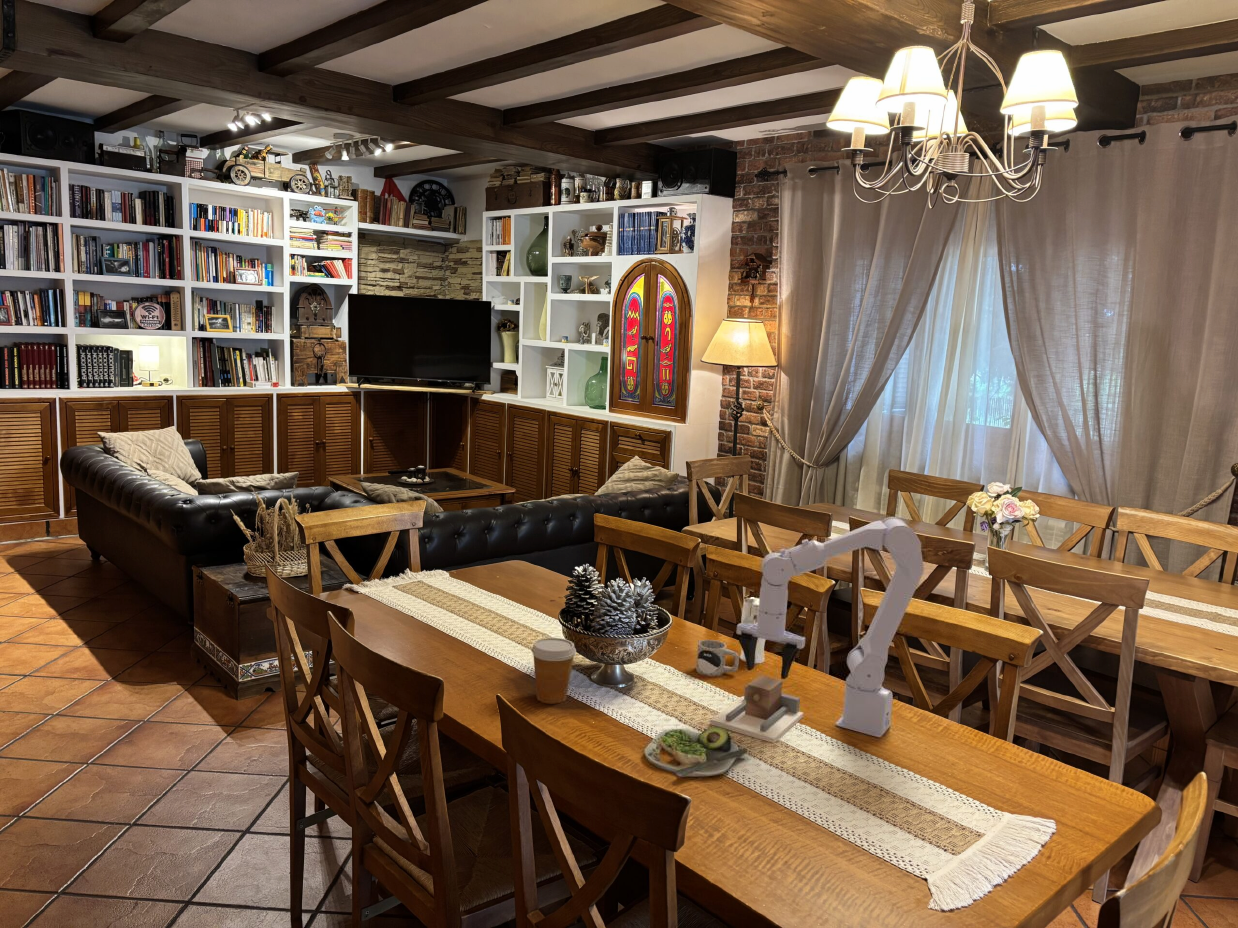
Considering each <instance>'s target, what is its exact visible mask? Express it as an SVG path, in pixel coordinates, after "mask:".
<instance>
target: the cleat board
mask: <svg viewBox="0 0 1238 928" xmlns="http://www.w3.org/2000/svg"><path fill="white" fill-rule="evenodd" d="M746 697H747V684H746V685H745V686H744V695H743V696H741V697H739V698H738V699H737V700H735V701H733V703H731V704H730V705H729V706H727V707H725V708H724V709H723V710H722V711H720V712H719V713H717V714H716V715H714V716H713V717H712V718H711V719H710V720H709V721H710V722H709V723H710V724H709V725H713V726H714V727H720V728H723V729H725V730H728V731H732V732H736V733H738V734H743V735H745V736H749V737H751V738H755V739H758V740H763V741H765V742H769V743H771V744H775V743H776V742H777V741H778V740H779V739H780V738H782V737H783V736H784V735H785V734H786V733H787V732H788V731H790V730H791V729H792V728H793V727H794V726H795V725H796V724H797V723H798V722H799V721H801V720H802V718H804V712H802V711H800V703H801V702H800V700H801V698H800V697H796V696H794V695H793V696H792V695H791V694H787V693H783V692H782V694H781V706H780V709H779V710H778V711H777V712H776V713H774V714H773V715H772V716H771V717H770V718H768V719H767V720H764V719H760V718H757V717H753V716H750V715H746V714H745V709H746Z"/></svg>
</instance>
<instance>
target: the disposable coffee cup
mask: <svg viewBox="0 0 1238 928" xmlns="http://www.w3.org/2000/svg"><path fill="white" fill-rule="evenodd" d="M531 653H532V656H533V667H534V680H535V690H536V691H535V692H536V699H537V701H539V702H542V703H544V704H550V705H551V704H560V703H563V702H564V701H566V699H567V694H568V688H569V683H570V679H571V673H572V667H573V661H574V657H575V654H576V653H577V649H576V648H575V643H574V642H573V641H571V640H568V639H565V638H561V637H559V638H558V637H544V638H543V637H542V638H540V639H537V640H535V641H534V643H533V645H532V647H531Z"/></svg>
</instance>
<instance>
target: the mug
mask: <svg viewBox="0 0 1238 928" xmlns="http://www.w3.org/2000/svg"><path fill="white" fill-rule="evenodd" d="M726 655H727V656H732V657H733V659H734V663H733V666H727V665H725V663H726ZM739 661H740V656H739V653H737V652H736V651H733V650H731V649H727V644H726V643H724V642H723V641H719V640H715V639H702V640H700V641H698V643H697V652H696V664H695V665H696V666H695V667H696V670H695V671H696V673H698V674H699V675H702V676H707V677H720V676H723V675H724V674H725V672H726V673H727V672H729V673H730V672H731V673H732V672H734V673H735V672H737V671H738V668H739V664H740V663H739Z"/></svg>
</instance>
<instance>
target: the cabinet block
mask: <svg viewBox="0 0 1238 928" xmlns="http://www.w3.org/2000/svg"><path fill="white" fill-rule="evenodd" d="M783 683H784V682H783V679H778V678H774V677H770V676H767V675H762V674H760V675H759V676H757V677H756V678H754V679H753V680H752V681H750V682H749V683H747V684H746V685H747V697H746V709H745V714H746V715H750V716H753V717H757V718H760V719H764V720H767V719H768V718H770V717H771V716H772V715H773V714H774V713H776V712H777V711H778V710H779V709H780V706H781V694H782V693H783V692H782V691H783Z"/></svg>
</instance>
